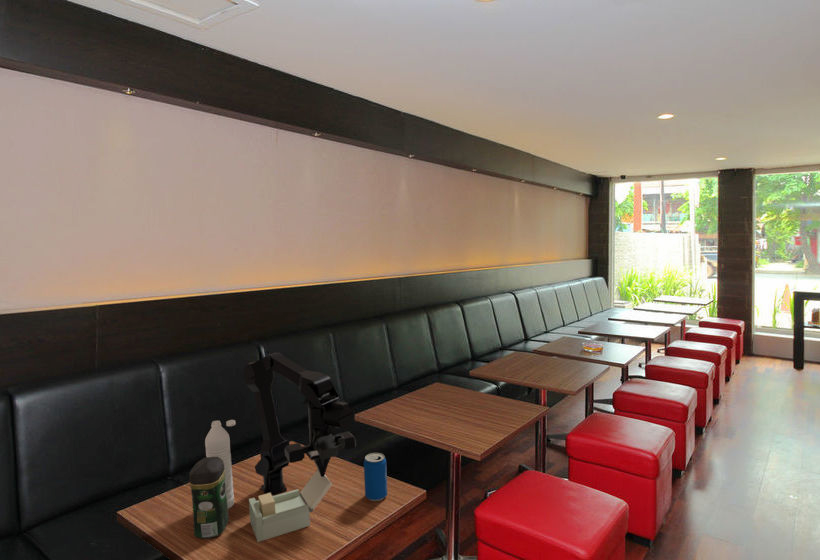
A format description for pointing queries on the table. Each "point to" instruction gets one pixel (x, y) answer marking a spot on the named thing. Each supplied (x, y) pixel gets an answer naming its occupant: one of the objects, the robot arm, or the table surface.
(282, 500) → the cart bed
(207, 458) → the coffee jar
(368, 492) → the beverage can
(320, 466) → the robot arm
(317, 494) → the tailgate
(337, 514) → the table surface
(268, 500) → the block
